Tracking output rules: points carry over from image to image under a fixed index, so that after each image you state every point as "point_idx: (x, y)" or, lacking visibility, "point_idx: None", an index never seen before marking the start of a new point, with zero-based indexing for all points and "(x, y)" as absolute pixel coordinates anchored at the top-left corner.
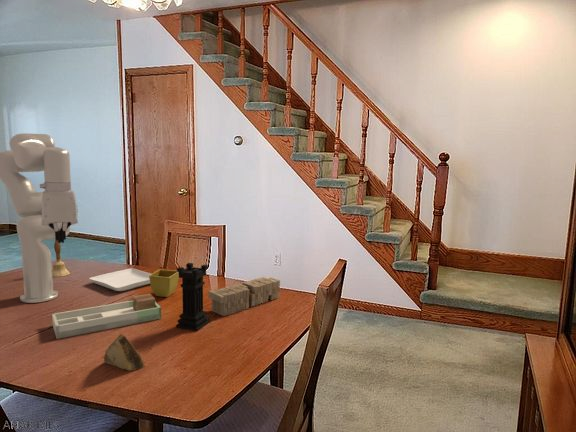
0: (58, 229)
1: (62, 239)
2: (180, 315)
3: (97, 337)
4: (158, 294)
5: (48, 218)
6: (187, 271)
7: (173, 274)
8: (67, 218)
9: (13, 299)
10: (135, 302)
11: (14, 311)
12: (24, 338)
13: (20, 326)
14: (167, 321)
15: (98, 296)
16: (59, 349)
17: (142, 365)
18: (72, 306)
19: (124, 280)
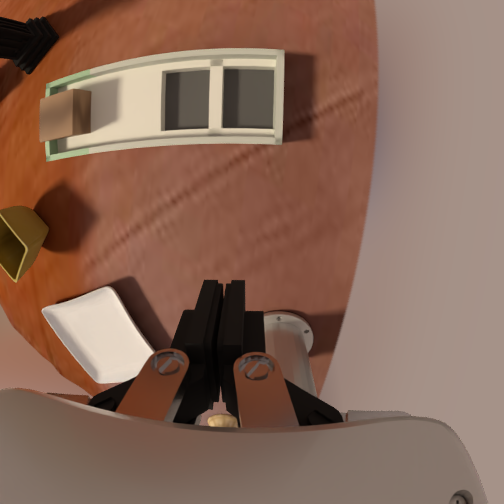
0: (235, 368)
1: (211, 291)
2: (39, 33)
3: (197, 28)
4: (42, 222)
5: (418, 476)
6: None
7: None
8: (60, 445)
9: (320, 348)
10: (77, 106)
11: (335, 282)
12: (342, 103)
13: (342, 181)
14: (58, 68)
15: (156, 290)
16: (282, 10)
17: None
18: (217, 253)
19: (107, 347)
